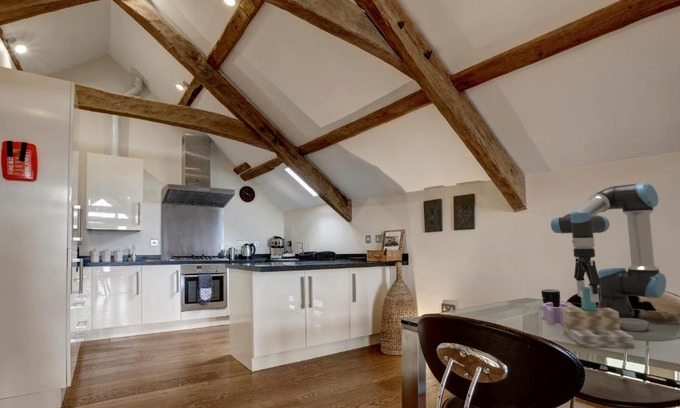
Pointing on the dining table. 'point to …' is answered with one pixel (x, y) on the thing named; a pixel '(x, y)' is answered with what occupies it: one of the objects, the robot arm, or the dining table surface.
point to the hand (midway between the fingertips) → (588, 298)
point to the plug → (587, 300)
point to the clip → (554, 312)
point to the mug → (551, 296)
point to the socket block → (595, 328)
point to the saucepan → (633, 324)
